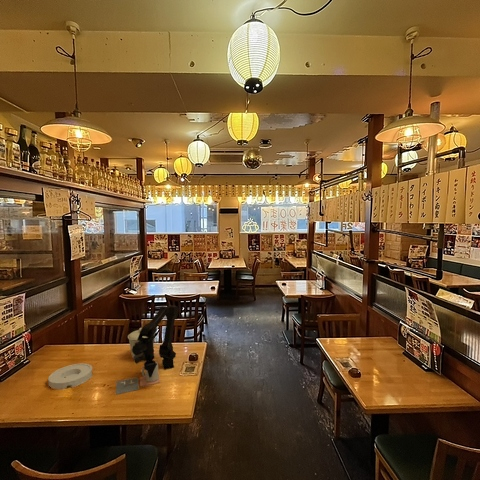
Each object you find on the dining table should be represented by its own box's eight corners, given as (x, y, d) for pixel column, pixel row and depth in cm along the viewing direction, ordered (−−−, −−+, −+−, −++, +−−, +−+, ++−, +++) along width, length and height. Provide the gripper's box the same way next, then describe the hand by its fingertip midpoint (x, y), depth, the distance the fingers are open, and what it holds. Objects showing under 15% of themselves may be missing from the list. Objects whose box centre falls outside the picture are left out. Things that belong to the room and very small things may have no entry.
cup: (155, 382, 166) (155, 368, 166) (139, 382, 167) (138, 367, 167) (160, 376, 173) (159, 362, 173) (144, 375, 174) (144, 361, 174)
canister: (148, 349, 213) (146, 321, 212) (160, 356, 200) (159, 327, 199) (124, 357, 200) (122, 328, 199) (136, 366, 187) (134, 335, 186)
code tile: (138, 377, 174) (138, 376, 174) (138, 389, 161) (138, 389, 161) (116, 381, 169) (116, 381, 169) (115, 394, 156) (115, 394, 156)
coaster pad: (158, 374, 176) (158, 373, 176) (160, 382, 167) (160, 382, 167) (139, 378, 172) (139, 377, 172) (140, 387, 163) (140, 386, 163)
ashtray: (74, 367, 189) (73, 361, 189) (101, 372, 182) (100, 366, 181) (39, 386, 168) (38, 379, 167) (68, 393, 160) (67, 386, 160)
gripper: (133, 344, 174) (134, 369, 175) (134, 357, 157) (135, 384, 158) (152, 341, 178) (153, 365, 179) (155, 353, 161) (156, 380, 162)
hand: (149, 373), depth 169 cm, fingers open, 9 cm apart
